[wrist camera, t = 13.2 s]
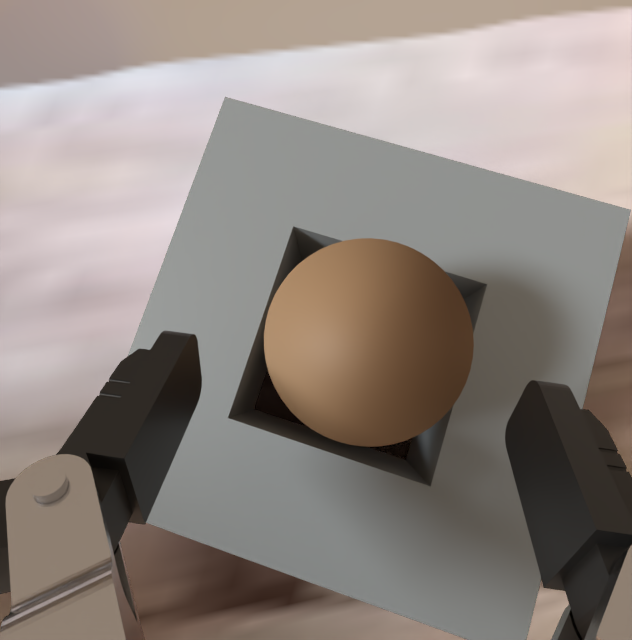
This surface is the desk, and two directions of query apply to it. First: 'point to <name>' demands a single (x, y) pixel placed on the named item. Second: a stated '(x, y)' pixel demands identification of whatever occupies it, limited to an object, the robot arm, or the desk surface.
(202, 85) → the desk surface
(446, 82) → the desk surface
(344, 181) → the socket block
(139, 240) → the desk surface
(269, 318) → the peg
